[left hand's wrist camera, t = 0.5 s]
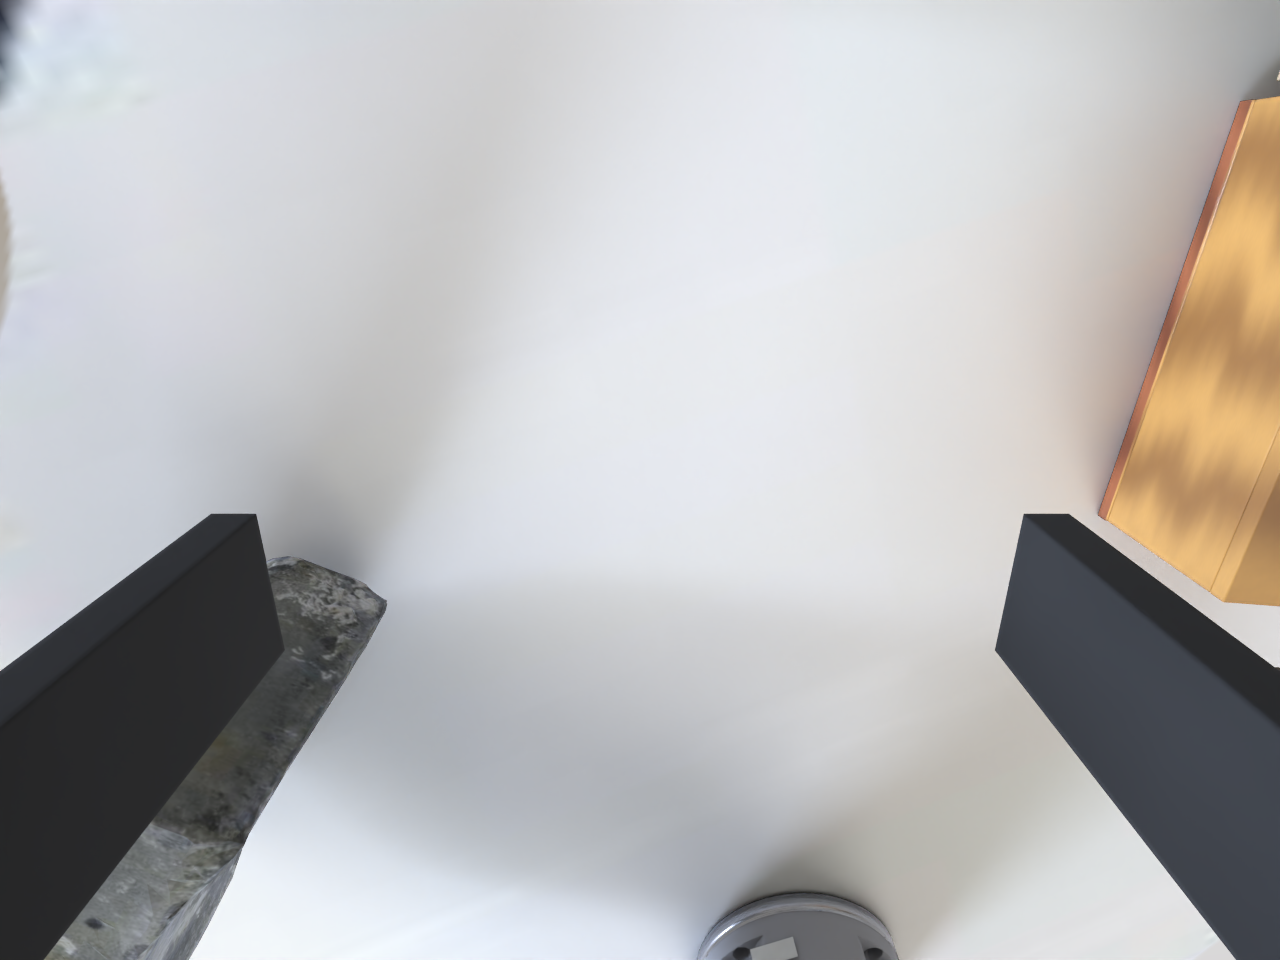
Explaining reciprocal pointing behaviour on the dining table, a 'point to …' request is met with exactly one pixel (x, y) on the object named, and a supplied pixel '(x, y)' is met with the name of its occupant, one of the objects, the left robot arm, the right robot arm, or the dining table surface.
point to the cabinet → (1216, 388)
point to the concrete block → (229, 779)
